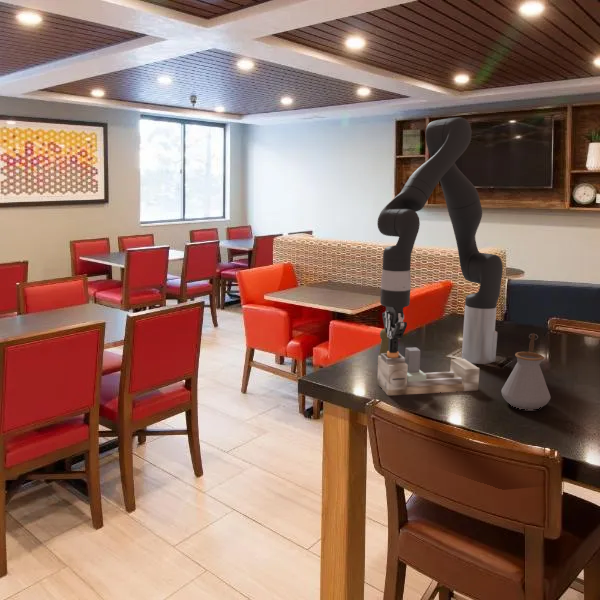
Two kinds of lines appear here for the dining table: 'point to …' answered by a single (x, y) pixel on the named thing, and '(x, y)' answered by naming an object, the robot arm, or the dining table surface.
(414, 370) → the carriage
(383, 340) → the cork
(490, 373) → the dining table surface
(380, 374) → the rail
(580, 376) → the dining table surface
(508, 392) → the coffee pot
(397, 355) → the button
